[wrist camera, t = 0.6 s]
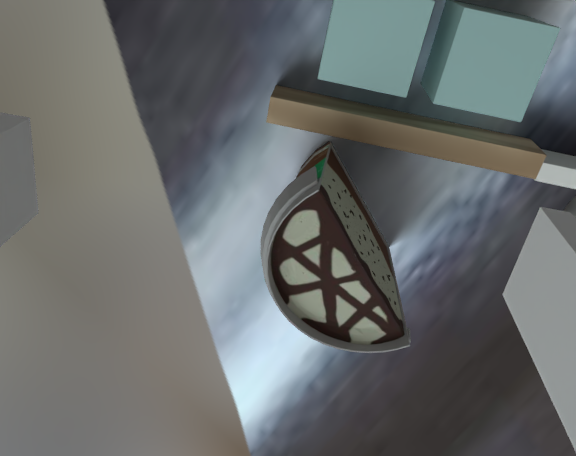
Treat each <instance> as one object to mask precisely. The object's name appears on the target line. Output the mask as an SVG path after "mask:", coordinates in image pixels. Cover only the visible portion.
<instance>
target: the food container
mask: <svg viewBox="0 0 576 456" xmlns="http://www.w3.org/2000/svg"><path fill="white" fill-rule="evenodd" d="M261 259H262V266H263V272H264V277H265V281H266V284H267V287H268V290H269V292H270V294H271V296H272V298H273V300H274V301H275V303H276V305H277V306H278V308H279V309H280V311H281V312H282V313H283V315H284V316H285V317H286V318H287V319H288V321H289V322H291V323H292V324H293V325H294V326H295V327H296V328H297V329H298V330H300V331H301V332H303V333H304V334H306V335H307V336H309V337H310V338H312V339H314V340H316V341H318V342H320V343H322V344H325V345H328V346H331V347H334V348H337V349H341V350H346V351H351V352H362V353H376V352H387V351H393V350H398V349H401V348H405V347H408V346H410V342H411V338H410V329H409V328H407V327H406V322H405V318H404V313H403V309H402V304H401V299H400V295H399V290H398V286H397V281H396V276H395V272H394V267H393V263H392V258H391V254H390V249H389V246H388V244H387V242H386V241H385V239H384V237H383V235H382V233H381V232H380V230H379V228H378V226H377V224H376V223H375V221H374V219H373V217H372V215H371V214H370V212H369V210H368V208H367V206H366V205H365V203H364V201H363V199H362V197H361V196H360V194H359V192H358V190H357V188H356V187H355V185H354V183H353V181H352V179H351V178H350V176H349V174H348V172H347V170H346V169H345V167H344V165H343V163H342V161H341V160H340V158H339V156H338V154H337V152H336V151H335V149H334V147H333V145H332V143H331V142H328V143H327V144H325V145H323V146H322V147H320V148H319V149H317V150H316V151H315V152H314V153H313V154H312V155H311V156H310V157H309V159H308V160H307V161H306V162H305V163H304V164H303V165H302V167H301V169H300V171H299V173H298V176H297V178H296V179H295V180H294V181H293V182H291V183H290V184H289V185H288V186H287V187H286V188H285V189H284V191H283V192H282V193H281V194H280V195H279V196H278V198H277V199H276V201H275V202H274V204H273V206H272V207H271V209H270V211H269V213H268V215H267V218H266V221H265V223H264V226H263V231H262V237H261Z"/></svg>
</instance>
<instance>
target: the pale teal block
mask: <svg viewBox="0 0 576 456" xmlns="http://www.w3.org/2000/svg"><path fill="white" fill-rule="evenodd" d="M434 4H435V1H434V0H333V5H332V10H331V14H330V19H329V24H328V29H327V33H326V38H325V43H324V47H323V52H322V57H321V61H320V67H319V73H318V79H320V80H324V81H329V82H334V83H338V84H343V85H348V86H353V87H357V88H362V89H367V90H371V91H376V92H381V93H386V94H390V95H395V96H400V97H404V98H406V97H407V94H408V90H409V87H410V84H411V80H412V77H413V74H414V70H415V67H416V64H417V60H418V57H419V54H420V50H421V47H422V44H423V40H424V37H425V34H426V30H427V27H428V24H429V20H430V17H431V14H432V10H433V7H434Z"/></svg>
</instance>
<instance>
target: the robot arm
mask: <svg viewBox="0 0 576 456" xmlns="http://www.w3.org/2000/svg"><path fill="white" fill-rule="evenodd" d="M37 214H38V204H37V193H36V181H35V171H34V159H33V148H32V137H31V126H30V118H29V117H23V116H17V115H12V114H6V113H0V247H1V246H2V245H3V244H4V243H5V242H6V241H7V240H8V239H10V238H11V237H12V236H13V235H14V234H15V233H16V232H18V231H19V230H20V229H21V228H22V227H23V226H24V225H25V224H27V223H28V222H29V221H30V220H31V219H32V218H33V217H34V216H36V215H37ZM503 297H504V299H505V301H506V303H507V306H508V308H509V310H510V312H511V314H512V316H513V318H514V321H515V323H516V325H517V327H518V329H519V331H520V333H521V336H522V338H523V340H524V342H525V344H526V346H527V348H528V351H529V353H530V355H531V357H532V359H533V361H534V363H535V366H536V368H537V370H538V372H539V374H540V376H541V378H542V381H543V383H544V385H545V387H546V389H547V391H548V393H549V396H550V398H551V400H552V402H553V404H554V406H555V408H556V411H557V413H558V415H559V417H560V419H561V421H562V423H563V426H564V428H565V430H566V432H567V434H568V436H569V438H570V441H571V443H572V445H573V447H574V449H575V451H576V218H575V217H574V216H573V215H572V214H571V213H570V212H566V211H560V210H554V209H549V208H543V207H540V209H539V211H538V213H537V216H536V218H535V220H534V223H533V225H532V227H531V230H530V232H529V234H528V237H527V239H526V241H525V244H524V246H523V248H522V250H521V253H520V255H519V257H518V260H517V262H516V264H515V267H514V269H513V271H512V274H511V276H510V278H509V281H508V283H507V285H506V288H505V290H504V292H503Z"/></svg>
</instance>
